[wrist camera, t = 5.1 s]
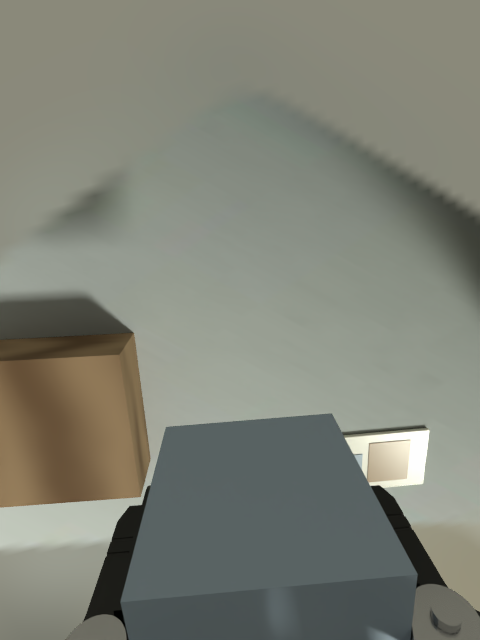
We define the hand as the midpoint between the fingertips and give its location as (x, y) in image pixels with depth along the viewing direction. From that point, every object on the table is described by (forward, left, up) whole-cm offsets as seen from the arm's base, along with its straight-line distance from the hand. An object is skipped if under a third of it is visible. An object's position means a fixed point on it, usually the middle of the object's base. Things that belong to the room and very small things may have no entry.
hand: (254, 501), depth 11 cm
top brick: (0, 0, -1) cm, 1 cm away
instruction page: (-10, +11, -14) cm, 20 cm away
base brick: (+11, +4, -14) cm, 18 cm away
